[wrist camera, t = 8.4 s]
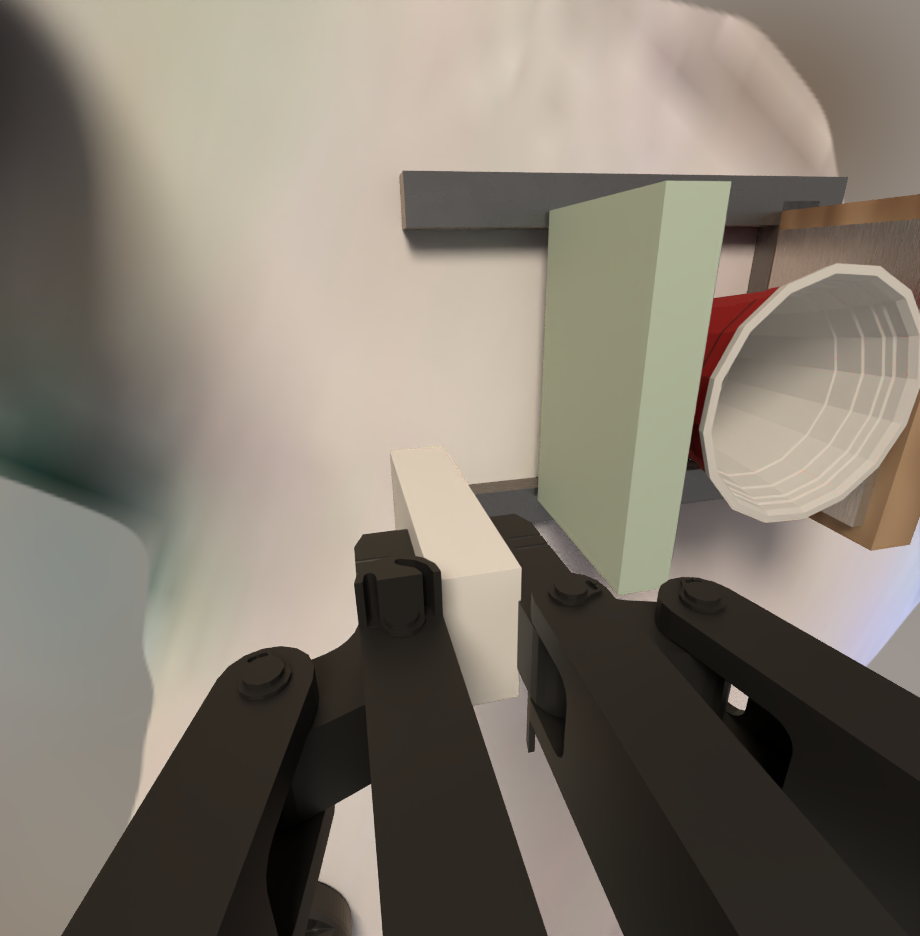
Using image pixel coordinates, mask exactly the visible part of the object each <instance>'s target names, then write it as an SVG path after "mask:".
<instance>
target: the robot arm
mask: <svg viewBox="0 0 920 936" xmlns="http://www.w3.org/2000/svg"><path fill="white" fill-rule="evenodd" d="M390 461H391V474H392V487H393V500H394V513H395V526H396V530H394V531H387V532H379V533H371V534H363V535H362V537H361V538H360V540H359V541H358V542H357V544H356V545H355V547H354V550H355V564H356V579H355V582H354V587H355V596H356V605H357V613H358V622H359V625H358V627H357V629H356V631H355V633H354V634H353V635H352V636H351V637H350V638H349V639H348V641H346V642H345V643H344V644H342V645H341V646H340V647H338V648H337V649H335V650H333V651H331V652H329V653H327V654H325V655H322V656H320V657H317V658H315V659H312V660H311V659H310V657H309V655H308V654H306V653H304V652H302V651H301V650H299V649H297V648H291V647H283V646H279V647H272V648H265V649H261V650H258V651H256V652H253V653H251V654H248V655H245V656H244V657H242V658H241V659H239V660H238V661H236V662H235V663H233V664H232V665H230V666H229V667H228V668H227V669H226V670H225V671H224V672H223V673H222V675H221V676H220V677H219V678H218V679H217V681H216V682H215V684H214V685H213V687H212V689H211V690H210V692H209V694H208V695H207V697H206V699H205V700H204V702H203V704H202V705H201V707H200V708H199V710H198V712H197V713H196V715H195V717H194V718H193V720H192V722H191V723H190V725H189V727H188V728H187V730H186V731H185V733H184V735H183V736H182V738H181V740H180V741H179V743H178V745H177V746H176V748H175V750H174V751H173V753H172V754H171V756H170V758H169V759H168V761H167V763H166V764H165V766H164V768H163V769H162V771H161V773H160V774H159V776H158V777H157V779H156V781H155V782H154V784H153V786H152V787H151V789H150V791H149V792H148V794H147V796H146V797H145V799H144V800H143V802H142V804H141V805H140V807H139V809H138V810H137V812H136V814H135V815H134V817H133V819H132V820H131V822H130V823H129V825H128V827H127V828H126V830H125V832H124V833H123V835H122V837H121V838H120V840H119V842H118V843H117V845H116V846H115V848H114V850H113V852H112V853H111V855H110V857H109V858H108V860H107V861H106V863H105V865H104V866H103V868H102V869H101V871H100V873H99V874H98V876H97V878H96V879H95V881H94V883H93V884H92V886H91V888H90V889H89V891H88V893H87V894H86V896H85V897H84V899H83V901H82V902H81V904H80V906H79V908H78V909H77V911H76V912H75V914H74V915H73V917H72V919H71V920H70V922H69V924H68V926H67V927H66V929H65V930H64V932H63V934H62V935H61V936H351V914H350V909H349V907H348V905H347V903H346V901H345V900H344V899H343V897H342V896H341V895H340V894H338V893H337V892H336V891H335V890H333V889H331V888H330V887H328V886H326V885H323V884H321V883H318V878H319V874H320V870H321V866H322V862H323V857H324V853H325V849H326V845H327V841H328V837H329V833H330V829H331V824H332V820H333V816H334V810H335V804H336V803H338V802H340V801H342V800H343V799H345V798H347V797H349V796H350V795H352V794H354V793H356V792H357V791H359V790H361V789H363V788H364V787H366V786H368V785H370V784H371V787H372V800H373V813H374V826H375V839H376V852H377V865H378V878H379V891H380V904H381V917H382V930H383V936H548V935H547V932H546V929H545V926H544V923H543V920H542V917H541V914H540V911H539V908H538V905H537V902H536V899H535V896H534V893H533V889H532V886H531V883H530V880H529V877H528V874H527V871H526V868H525V865H524V862H523V859H522V856H521V853H520V850H519V847H518V844H517V840H516V837H515V834H514V831H513V828H512V825H511V822H510V819H509V816H508V813H507V810H506V807H505V804H504V801H503V798H502V795H501V791H500V788H499V785H498V782H497V779H496V776H495V773H494V770H493V767H492V764H491V761H490V758H489V755H488V752H487V749H486V746H485V742H484V739H483V736H482V733H481V730H480V727H479V724H478V721H477V718H476V715H475V712H474V709H473V706H474V705H479V704H484V703H489V702H494V701H499V700H504V699H508V698H513V697H518V696H519V673H520V675H521V677H522V679H523V682H524V684H525V686H526V688H527V690H528V706H527V738H526V742H527V747H528V753H529V752H534V750H535V734H536V736H537V738H538V740H539V743H540V745H541V747H542V750H543V752H544V754H545V756H546V759H547V761H548V763H549V766H550V768H551V770H552V772H553V775H554V777H555V779H556V782H557V784H558V786H559V788H560V791H561V793H562V795H563V798H564V800H565V802H566V804H567V807H568V809H569V811H570V814H571V816H572V818H573V820H574V823H575V825H576V827H577V830H578V832H579V834H580V836H581V839H582V841H583V843H584V846H585V848H586V850H587V853H588V855H589V857H590V859H591V862H592V864H593V866H594V869H595V871H596V873H597V875H598V878H599V880H600V882H601V885H602V887H603V889H604V891H605V894H606V896H607V898H608V901H609V903H610V905H611V907H612V910H613V912H614V914H615V917H616V919H617V921H618V923H619V926H620V928H621V930H622V933H623V935H624V936H920V698H919V697H917V696H915V695H914V694H912V693H911V692H909V691H907V690H905V689H904V688H902V687H900V686H898V685H897V684H895V683H893V682H891V681H890V680H888V679H886V678H884V677H883V676H881V675H879V674H877V673H876V672H874V671H872V670H870V669H869V668H867V667H865V666H863V665H862V664H860V663H858V662H856V661H855V660H853V659H851V658H849V657H848V656H846V655H844V654H842V653H841V652H839V651H837V650H835V649H834V648H832V647H830V646H828V645H827V644H825V643H823V642H821V641H820V640H818V639H816V638H814V637H813V636H811V635H809V634H807V633H806V632H804V631H802V630H800V629H799V628H797V627H795V626H793V625H792V624H790V623H788V622H786V621H785V620H783V619H781V618H779V617H778V616H776V615H774V614H772V613H771V612H769V611H767V610H765V609H764V608H762V607H760V606H758V605H757V604H755V603H753V602H751V601H750V600H748V599H746V598H744V597H743V596H741V595H739V594H737V593H736V592H734V591H732V590H730V589H729V588H726V587H724V586H722V585H720V584H717V583H715V582H712V581H708V580H704V579H701V578H695V577H692V578H690V577H680V578H675V579H670V580H668V581H666V582H665V583H663V584H662V585H661V586H660V589H659V592H658V598H657V602H649V601H629V600H619V599H616V598H615V597H614V596H613V595H612V594H611V593H610V591H609V590H608V589H607V588H606V587H605V586H603V585H602V584H601V583H600V582H598V581H597V580H595V579H592V578H590V577H587V576H585V575H581V574H575V573H571V572H570V571H569V569H568V568H567V567H566V566H565V564H564V563H563V562H562V561H561V559H560V558H559V557H558V556H557V554H556V553H555V552H554V551H553V549H552V548H551V547H550V546H549V545H547V542H546V541H545V539H544V538H543V537H542V536H540V533H539V532H538V531H537V529H536V528H535V527H534V526H533V524H532V523H531V522H529V521H527V520H526V519H524V518H522V517H520V516H518V515H516V514H508V515H500V516H492V517H489V516H488V515H487V513H486V512H485V510H484V509H483V507H482V506H481V504H480V502H479V501H478V499H477V498H476V496H475V495H474V493H473V492H472V490H471V489H470V487H469V485H468V484H467V482H466V481H465V479H464V478H463V476H462V475H461V473H460V471H459V470H458V468H457V467H456V465H455V464H454V462H453V461H452V459H451V457H450V456H449V454H448V453H447V451H446V450H445V448H444V447H443V446H436V447H425V448H415V449H404V450H394V451H390ZM731 684H732V685H733V686H735V687H736V688H737V689H739V690H740V691H741V692H743V693H744V694H745V695H747V696H748V697H749V698H748V702H747V706H746V710H745V711H744V710H739V709H738V708H736V707H734V706H733V705H731V704H730V703H729V702H728V697H729V693H730V688H731Z"/></svg>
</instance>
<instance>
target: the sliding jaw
mask: <svg viewBox="0 0 920 936" xmlns="http://www.w3.org/2000/svg"><path fill="white" fill-rule="evenodd" d="M731 182H732V181H663V182H659V183H655V184H651V185H647V186H644V187H640V188H636V189H632V190H628V191H624V192H620V193H617V194H613V195H609V196H605V197H601V198H597V199H593V200H589V201H586V202H582V203H578V204H574V205H570V206H566V207H562V208H558V209H555V210H551V211H550V212H549V236H548V260H547V284H546V308H545V332H544V356H543V380H542V404H541V428H540V452H539V476H538V501H539V502H540V503H541V505H542V506H543V507H544V508H545V509H546V511H547V512H548V513H549V514H550V515H551V516H552V518H553V519H554V520H555V521H556V522H557V524H558V525H559V526H560V527H561V528H562V529H563V531H564V532H565V533H566V534H567V535H568V537H569V538H570V539H571V540H572V541H573V542H574V544H575V545H576V546H577V547H578V548H579V550H580V551H581V552H582V553H583V554H584V555H585V557H586V558H587V559H588V560H589V561H590V563H591V564H592V565H593V566H594V567H595V568H596V570H597V571H598V572H599V573H600V574H601V576H602V577H603V578H604V579H605V580H606V581H607V583H608V584H609V585H610V586H611V587H612V589H613V590H614V591H615V592H616V593H617V594H618V595H622V594H629V593H635V592H641V591H647V590H654V589H660V586H661V585H662V584H663V583H665V582H666V581H668V579H669V572H670V566H671V560H672V556H673V550H674V543H675V537H676V531H677V524H678V518H679V512H680V505H681V499H682V493H683V487H684V480H685V474H686V468H687V461H688V455H689V449H690V443H691V436H692V430H693V424H694V417H695V411H696V405H697V399H698V392H699V386H700V380H701V373H702V367H703V361H704V355H705V348H706V342H707V336H708V329H709V323H710V317H711V311H712V304H713V298H714V292H715V285H716V279H717V273H718V267H719V260H720V254H721V248H722V241H723V235H724V229H725V223H726V213H727V207H728V201H729V194H730V188H731Z"/></svg>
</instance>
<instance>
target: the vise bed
mask: <svg viewBox="0 0 920 936" xmlns="http://www.w3.org/2000/svg"><path fill="white" fill-rule="evenodd" d="M847 179H848V177H799V176H730V175H661V174H592V173H523V172H454V171H402V173H401V174H400V194H401V212H402V230H422V229H548V228H549V212H550V211H551V210H555V209H558V208H562V207H566V206H570V205H574V204H578V203H582V202H586V201H589V200H593V199H597V198H601V197H605V196H609V195H613V194H617V193H620V192H624V191H628V190H632V189H636V188H640V187H644V186H647V185H651V184H655V183H659V182H663V181H732V182H731V188H730V194H729V201H728V207H727V213H726V223H725V227H759V232H758V237H757V243H756V248H755V254H754V259H753V265H752V270H751V276H750V281H749V287H748V292H747V294H748V293H755V292H762V291H766V290H768V289H770V288H775V287H781V286H784V285H786V284H788V283H790V282H793V281H795V280H797V279H800V278H802V277H804V276H806V275H809V274H811V273H813V272H815V271H818V270H820V269H822V268H825V267H827V266H830V265H833V264H836V263H841V264H856V265H872V266H881V267H882V268H884V269H885V270H886V271H887V272H889V273H890V274H891V275H892V276H894V277H895V278H896V279H897V280H899V281H900V282H901V283H903V284H904V285H905V286H906V287H908V288H909V289H910V290H911V291H912V293H913V296H914V299H915V302H916V305H917V307H918V310H919V313H920V194H918V195H910V196H902V197H894V198H886V199H878V200H869V201H862V202H853V203H845V204H842V201H843V197H844V193H845V188H846V183H847ZM469 487H470V489H471V490H472V492H473V493H474V495H475V496H476V498H477V499H478V501H479V502H480V504H481V506H482V507H483V509H484V510H485V512H486V513H487V515H488V516H489V517H492V516H500V515H508V514H516V515H518V516H520V517H522V518H524V519H526V520H527V521H529V522H531V523H532V522H540V521H547V520H554V519H553V518H552V516H551V515H550V514H549V513H548V512H547V511H546V509H545V508H544V507H543V506H542V505H541V503H540V502H539V501H538V477H536V478H527V479H518V480H509V481H499V482H490V483H481V484H472V485H469ZM715 499H723V497H722V495H721V494H720V493H719V491H718V490H717V489H716V487H715V486H714V484H713V483H712V482H711V480H710V479H709V477H708V476H707V475H706V473H705V471H703V470H702V469H701V468H700V467H699V466H698V464H697V463H696V462H695V461H687V468H686V474H685V480H684V487H683V493H682V499H681V504H683V503H691V502H699V501H707V500H715ZM919 517H920V389H919V392H918V394H917V397H916V400H915V403H914V406H913V408H912V411H911V414H910V417H909V420H908V422H907V425H906V427H905V428H904V430H903V431H902V433H901V434H900V436H899V437H898V439H897V440H896V442H895V443H894V445H893V446H892V448H891V449H890V451H889V452H888V454H887V455H886V457H885V458H884V460H883V461H882V463H881V464H880V466H879V467H878V468H877V469H876V470H875V471H874V472H873V473H872V474H871V475H869V476H868V477H867V478H866V479H865V480H864V481H863V482H862V483H861V484H860V485H858V486H857V487H856V488H855V489H854V490H853V491H852V492H851V493H850V494H849V495H847V496H846V497H845V498H844V499H843V500H842V501H839V502H837V503H835V504H833V505H831V506H829V507H827V508H825V509H823V510H821V511H819V512H817V513H815V514H813V515H811V516H809V518H811V519H813V520H815V521H817V522H818V523H820V524H822V525H824V526H826V527H828V528H830V529H831V530H833V531H835V532H837V533H839V534H841V535H843V536H844V537H846V538H848V539H850V540H852V541H854V542H856V543H858V544H859V545H861V546H863V547H865V548H867V549H869V550H871V551H872V550H878V549H885V548H891V547H897V546H903V545H910V542H911V540H912V537H913V534H914V531H915V528H916V526H917V523H918V520H919Z"/></svg>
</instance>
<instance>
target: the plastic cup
mask: <svg viewBox="0 0 920 936" xmlns="http://www.w3.org/2000/svg"><path fill="white" fill-rule="evenodd" d="M919 389H920V313H919V310H918V307H917V305H916V302H915V299H914V296H913V293H912V291H911V290H910V289H909V288H908V287H906V286H905V285H904V284H903V283H901V282H900V281H899V280H897V279H896V278H895V277H894V276H892V275H891V274H890V273H889V272H887V271H886V270H885V269H884V268H882V267H881V266H872V265H856V264H841V263H836V264H833V265H830V266H827V267H825V268H822V269H820V270H818V271H815V272H813V273H811V274H809V275H806V276H804V277H802V278H800V279H797V280H795V281H793V282H790V283H788V284H786V285H784V286H781V287H775V288H770V289H768V290H766V291H762V292H755V293H748V294H741V295H734V296H727V297H720V298H713V304H712V311H711V317H710V323H709V329H708V336H707V342H706V348H705V355H704V361H703V367H702V373H701V380H700V386H699V392H698V399H697V405H696V411H695V417H694V424H693V430H692V436H691V443H690V449H689V455H688V457H690V458H691V459H692V460H694V461H695V462H696V463H697V464H698V466H699V467H700V468H701V469H702V470H703V471H705V473H706V475H707V476H708V477H709V479H710V480H711V482H712V483H713V484H714V486H715V487H716V489H717V490H718V491H719V493H720V494H721V495H722V497H723V498H724V500H725V501H726V502H727V504H728V505H729V506H730V507H731V508H732V509H733V510H735V511H738V512H740V513H742V514H745V515H747V516H750V517H752V518H754V519H757V520H759V521H762V522H764V523H770V522H780V521H791V520H801V519H805V518H807V517H809V516H811V515H813V514H815V513H817V512H819V511H821V510H823V509H825V508H827V507H829V506H831V505H833V504H835V503H837V502H839V501H842V500H843V499H844V498H845V497H846V496H847V495H849V494H850V493H851V492H852V491H853V490H854V489H855V488H856V487H857V486H858V485H860V484H861V483H862V482H863V481H864V480H865V479H866V478H867V477H868V476H869V475H871V474H872V473H873V472H874V471H875V470H876V469H877V468H878V467H879V466H880V464H881V463H882V461H883V460H884V458H885V457H886V455H887V454H888V452H889V451H890V449H891V448H892V446H893V445H894V443H895V442H896V440H897V439H898V437H899V436H900V434H901V433H902V431H903V430H904V428H905V427H906V425H907V422H908V420H909V417H910V414H911V411H912V408H913V406H914V403H915V400H916V397H917V394H918V392H919Z"/></svg>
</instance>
